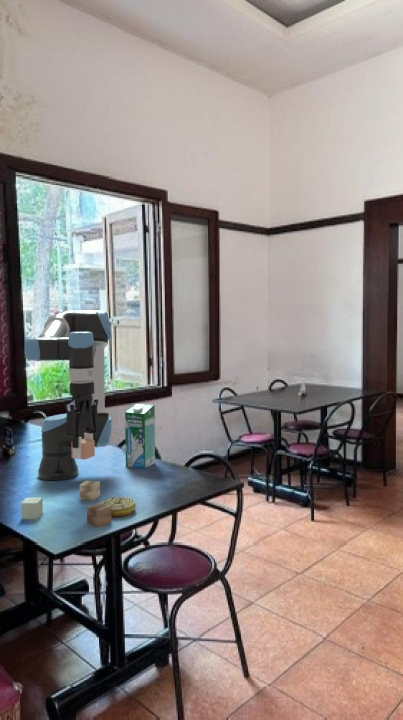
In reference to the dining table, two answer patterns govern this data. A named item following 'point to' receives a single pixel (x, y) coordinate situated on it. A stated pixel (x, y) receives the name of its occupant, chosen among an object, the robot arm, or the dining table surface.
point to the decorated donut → (120, 505)
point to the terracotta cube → (86, 449)
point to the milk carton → (140, 436)
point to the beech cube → (90, 490)
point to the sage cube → (31, 508)
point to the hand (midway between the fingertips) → (83, 455)
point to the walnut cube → (99, 514)
